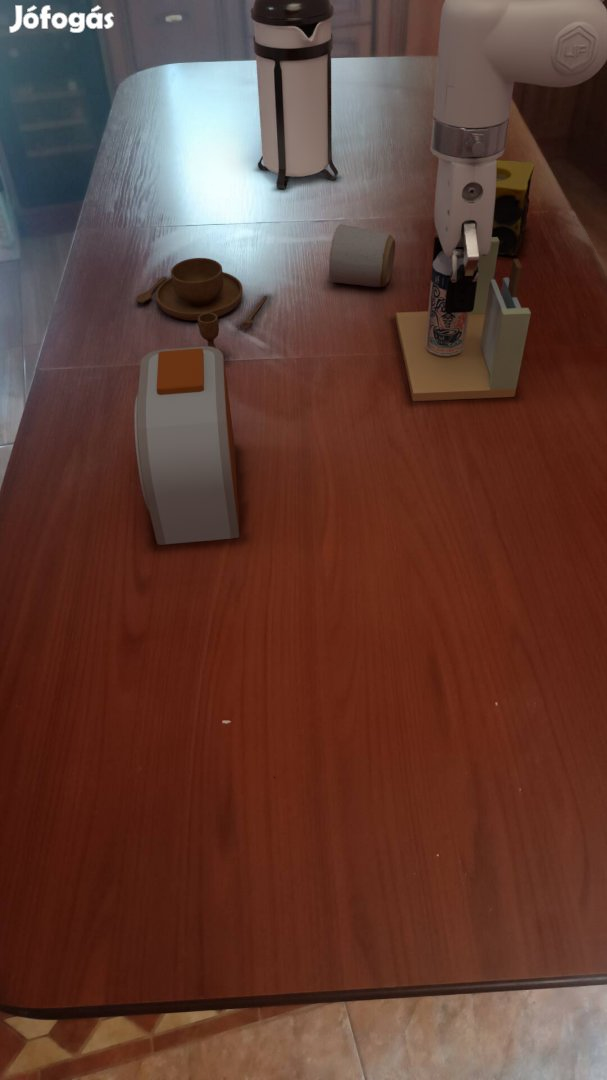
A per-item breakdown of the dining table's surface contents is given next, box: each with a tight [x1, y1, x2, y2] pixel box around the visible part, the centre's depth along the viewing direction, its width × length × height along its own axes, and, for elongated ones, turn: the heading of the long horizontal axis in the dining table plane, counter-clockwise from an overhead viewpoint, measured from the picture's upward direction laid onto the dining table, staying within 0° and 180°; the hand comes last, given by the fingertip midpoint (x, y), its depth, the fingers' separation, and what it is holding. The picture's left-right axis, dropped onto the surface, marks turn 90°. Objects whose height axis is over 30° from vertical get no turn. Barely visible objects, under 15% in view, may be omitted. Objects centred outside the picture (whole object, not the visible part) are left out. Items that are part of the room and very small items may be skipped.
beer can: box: [425, 249, 469, 356], centre depth 95 cm, size 5×5×12 cm
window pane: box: [500, 258, 523, 309], centre depth 92 cm, size 1×7×12 cm, turn 1°
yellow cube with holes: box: [461, 159, 536, 257], centre depth 118 cm, size 10×10×10 cm
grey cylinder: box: [328, 224, 396, 288], centre depth 112 cm, size 11×8×8 cm
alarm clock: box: [133, 345, 241, 546], centre depth 79 cm, size 15×8×14 cm, turn 5°
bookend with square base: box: [395, 237, 532, 402], centre depth 96 cm, size 12×18×11 cm, turn 2°
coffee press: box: [250, 0, 339, 190], centre depth 131 cm, size 17×16×30 cm
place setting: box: [135, 257, 268, 348], centre depth 106 cm, size 18×20×6 cm
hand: (451, 289), depth 94 cm, fingers open, 9 cm apart
